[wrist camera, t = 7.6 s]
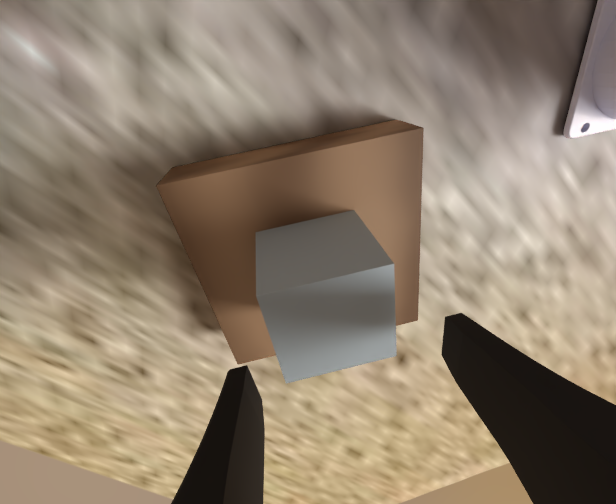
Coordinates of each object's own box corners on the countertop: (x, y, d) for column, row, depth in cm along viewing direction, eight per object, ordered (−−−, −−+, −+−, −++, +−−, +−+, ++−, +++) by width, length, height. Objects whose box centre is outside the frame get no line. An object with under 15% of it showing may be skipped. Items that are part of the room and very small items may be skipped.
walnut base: (396, 119, 16) (423, 127, 13) (398, 292, 22) (417, 320, 20) (172, 167, 15) (156, 185, 13) (239, 330, 22) (237, 364, 19)
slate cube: (354, 209, 15) (394, 263, 11) (361, 287, 17) (396, 355, 13) (255, 232, 15) (255, 296, 10) (278, 307, 17) (286, 383, 13)
